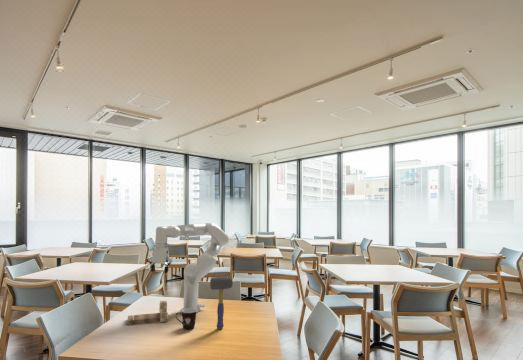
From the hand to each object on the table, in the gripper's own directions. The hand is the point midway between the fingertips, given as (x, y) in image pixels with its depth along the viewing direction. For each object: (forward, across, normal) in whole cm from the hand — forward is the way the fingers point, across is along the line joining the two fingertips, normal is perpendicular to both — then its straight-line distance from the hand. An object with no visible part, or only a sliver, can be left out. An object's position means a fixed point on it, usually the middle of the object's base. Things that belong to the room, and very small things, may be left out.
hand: (159, 272), depth 213 cm
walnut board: (+28, +2, +8) cm, 29 cm away
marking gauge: (+28, -6, +3) cm, 29 cm away
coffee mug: (+28, -27, +12) cm, 41 cm away
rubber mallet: (+28, -47, +7) cm, 55 cm away
